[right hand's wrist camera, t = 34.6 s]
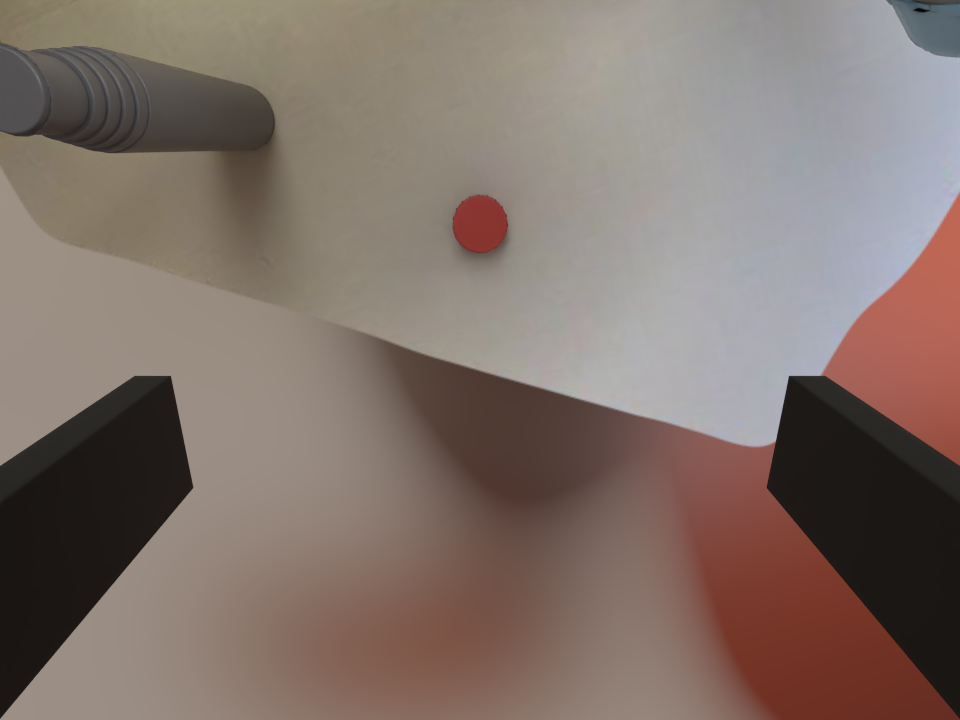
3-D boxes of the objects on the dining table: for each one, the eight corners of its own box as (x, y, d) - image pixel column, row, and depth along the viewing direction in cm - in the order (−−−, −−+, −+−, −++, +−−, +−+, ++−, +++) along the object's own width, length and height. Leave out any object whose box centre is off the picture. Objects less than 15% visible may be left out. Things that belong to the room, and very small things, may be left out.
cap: (473, 183, 46) (473, 184, 44) (517, 215, 47) (519, 218, 45) (442, 228, 47) (441, 232, 46) (486, 259, 48) (486, 263, 46)
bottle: (261, 77, 44) (27, 5, 21) (283, 142, 45) (86, 139, 23) (203, 93, 44) (-88, 38, 21) (227, 156, 45) (-22, 167, 23)
